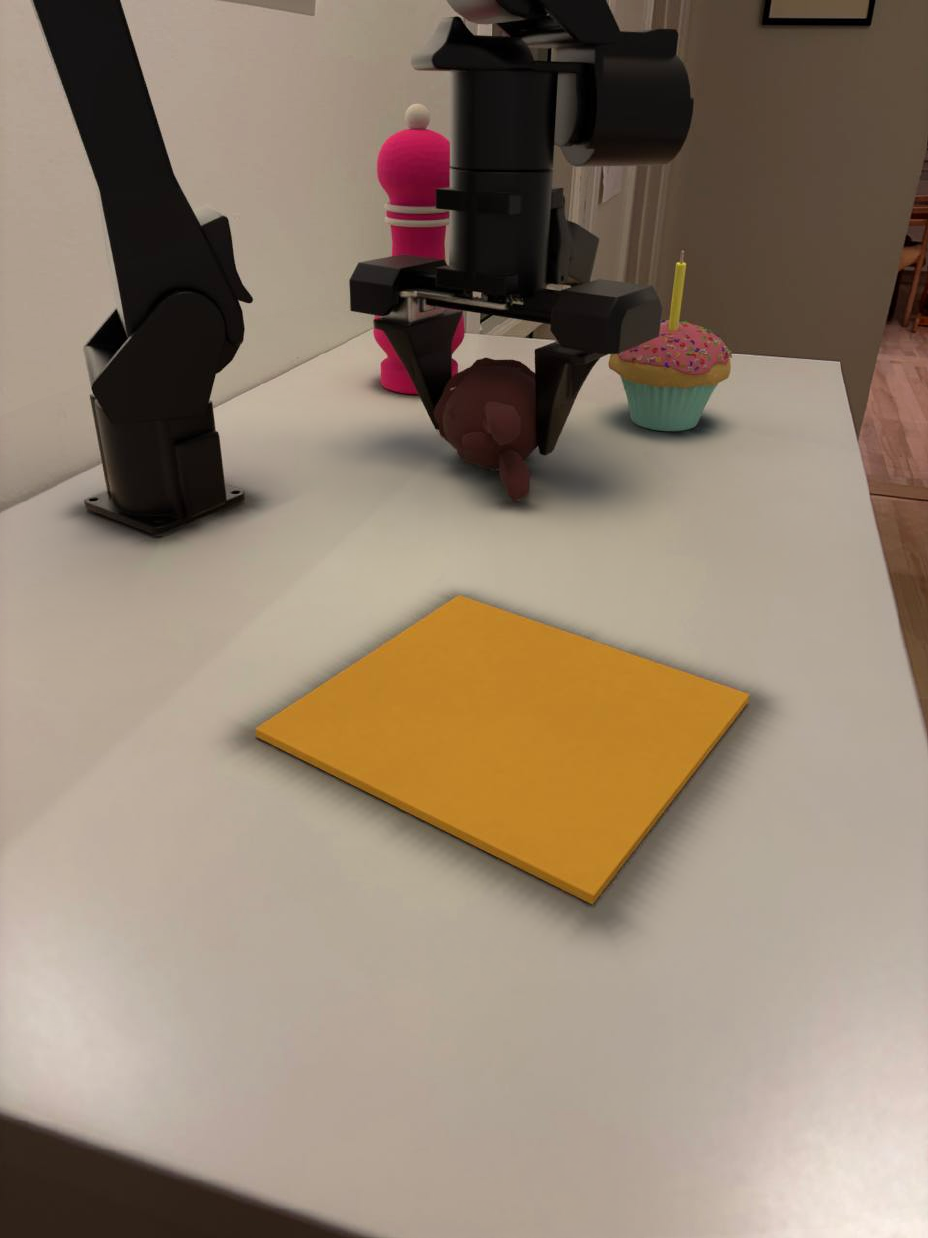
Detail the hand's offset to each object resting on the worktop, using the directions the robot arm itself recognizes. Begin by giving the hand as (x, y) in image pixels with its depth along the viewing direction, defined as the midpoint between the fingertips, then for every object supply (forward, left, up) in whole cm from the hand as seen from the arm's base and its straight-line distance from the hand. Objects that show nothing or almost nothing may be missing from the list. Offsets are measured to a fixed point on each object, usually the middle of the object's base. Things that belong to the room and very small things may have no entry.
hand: (492, 440), depth 59 cm
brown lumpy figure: (0, 0, -2) cm, 2 cm away
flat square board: (+16, -23, -2) cm, 28 cm away
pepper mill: (-15, +12, -2) cm, 19 cm away
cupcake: (+5, +15, -2) cm, 16 cm away
